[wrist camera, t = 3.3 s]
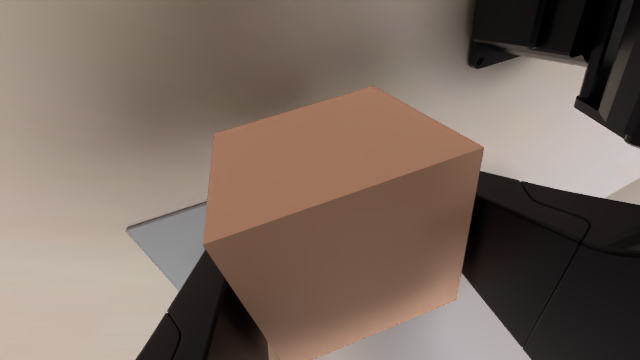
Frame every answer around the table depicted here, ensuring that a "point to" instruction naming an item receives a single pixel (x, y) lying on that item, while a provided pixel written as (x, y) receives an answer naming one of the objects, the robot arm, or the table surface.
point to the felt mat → (173, 241)
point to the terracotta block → (340, 218)
